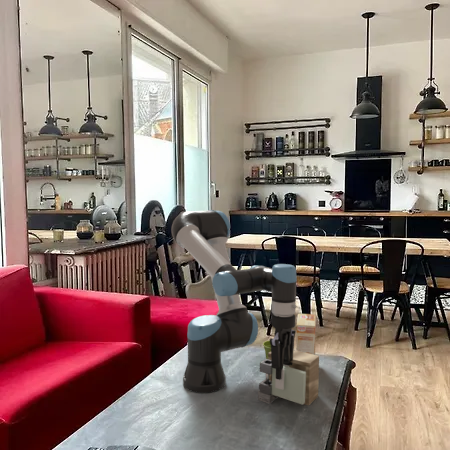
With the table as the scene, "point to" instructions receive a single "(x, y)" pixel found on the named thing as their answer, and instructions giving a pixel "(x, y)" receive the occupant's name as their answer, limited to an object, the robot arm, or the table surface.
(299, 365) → the cabinet
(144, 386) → the table surface
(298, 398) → the square frame paddle
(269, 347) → the plant pot
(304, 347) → the coffeecake box
